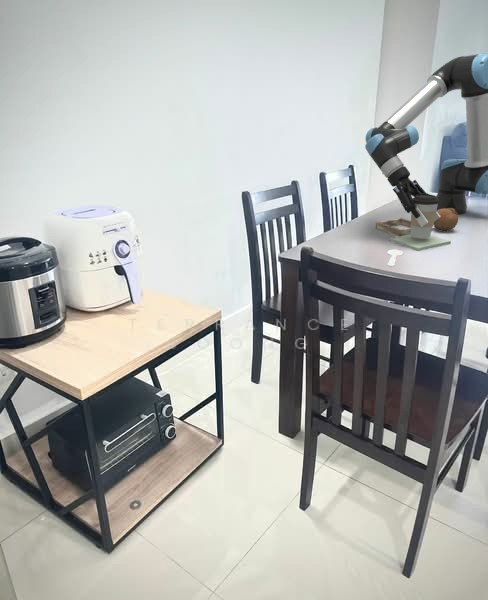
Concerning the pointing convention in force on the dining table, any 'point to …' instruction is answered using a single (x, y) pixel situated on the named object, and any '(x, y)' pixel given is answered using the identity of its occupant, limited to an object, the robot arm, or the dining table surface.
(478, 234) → the dining table surface
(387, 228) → the picture frame
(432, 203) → the coffee cup
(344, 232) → the dining table surface
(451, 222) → the onion
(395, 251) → the spoon
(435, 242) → the mat
